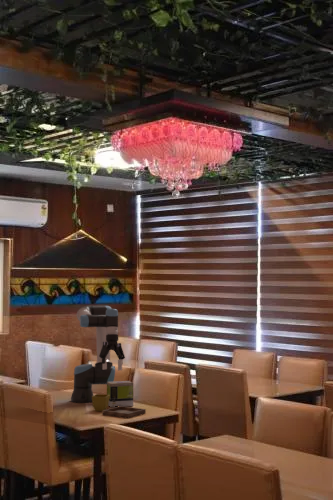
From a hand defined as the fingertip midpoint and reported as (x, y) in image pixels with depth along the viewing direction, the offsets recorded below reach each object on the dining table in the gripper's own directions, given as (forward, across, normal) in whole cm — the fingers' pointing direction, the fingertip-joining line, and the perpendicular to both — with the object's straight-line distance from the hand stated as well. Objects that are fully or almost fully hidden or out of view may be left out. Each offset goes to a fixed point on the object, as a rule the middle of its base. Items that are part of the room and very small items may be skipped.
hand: (112, 369), depth 400 cm
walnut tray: (+26, +1, -8) cm, 27 cm away
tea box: (+21, +21, +13) cm, 32 cm away
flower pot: (+24, 0, +10) cm, 26 cm away
